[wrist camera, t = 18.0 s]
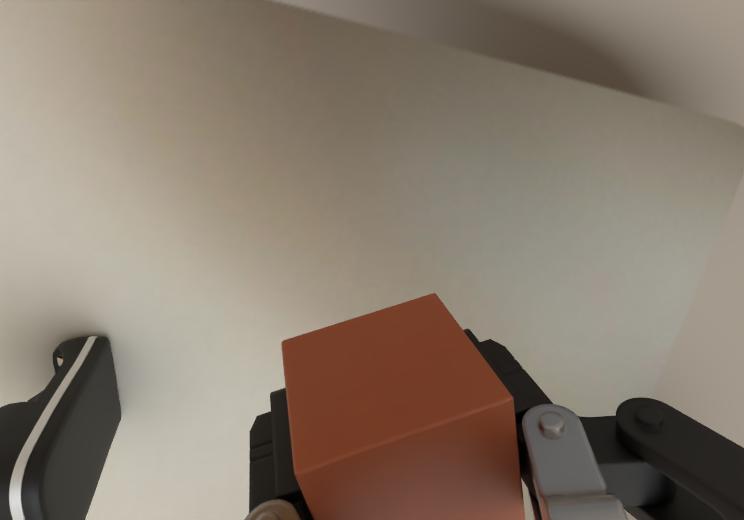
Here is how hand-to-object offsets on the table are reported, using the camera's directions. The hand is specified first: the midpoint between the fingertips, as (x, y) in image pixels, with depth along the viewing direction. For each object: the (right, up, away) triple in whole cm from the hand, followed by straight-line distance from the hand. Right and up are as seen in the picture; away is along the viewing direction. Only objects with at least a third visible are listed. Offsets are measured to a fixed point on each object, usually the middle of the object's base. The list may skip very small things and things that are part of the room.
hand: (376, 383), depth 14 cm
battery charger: (-19, -4, +16) cm, 25 cm away
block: (0, 0, 0) cm, 0 cm away
